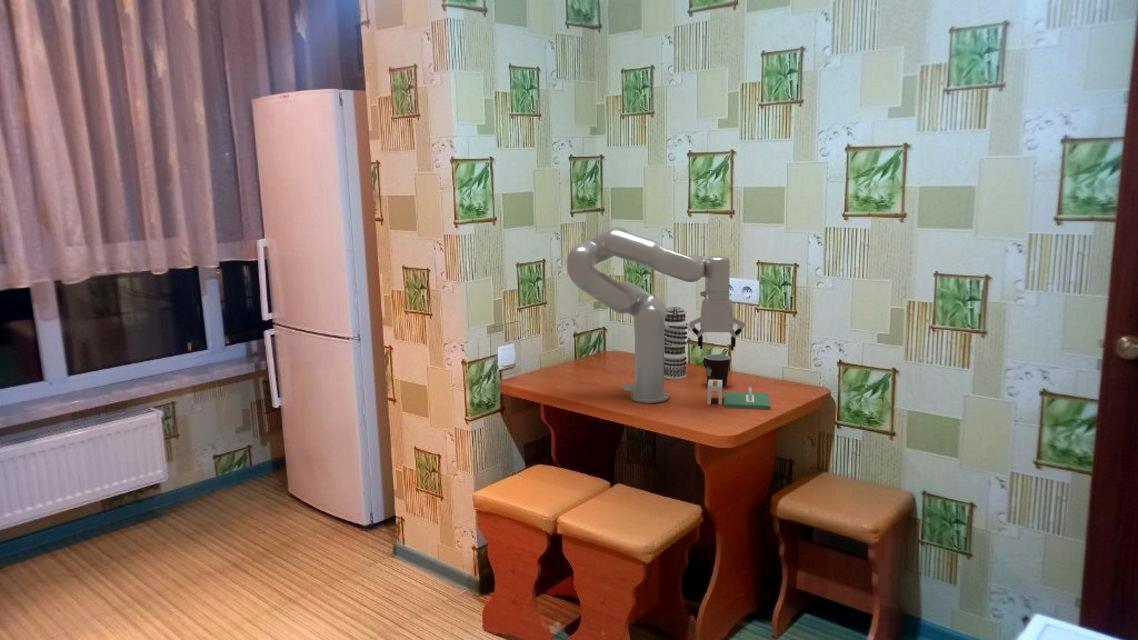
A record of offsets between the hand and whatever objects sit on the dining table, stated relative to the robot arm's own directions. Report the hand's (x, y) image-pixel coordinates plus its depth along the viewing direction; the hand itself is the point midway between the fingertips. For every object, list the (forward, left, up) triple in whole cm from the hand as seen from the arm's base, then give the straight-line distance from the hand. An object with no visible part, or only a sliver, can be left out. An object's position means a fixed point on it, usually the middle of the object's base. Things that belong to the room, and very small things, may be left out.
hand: (716, 348), depth 249 cm
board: (+10, 0, -17) cm, 20 cm away
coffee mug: (0, +20, -17) cm, 27 cm away
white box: (0, 0, -17) cm, 17 cm away
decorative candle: (-15, +29, -17) cm, 37 cm away
